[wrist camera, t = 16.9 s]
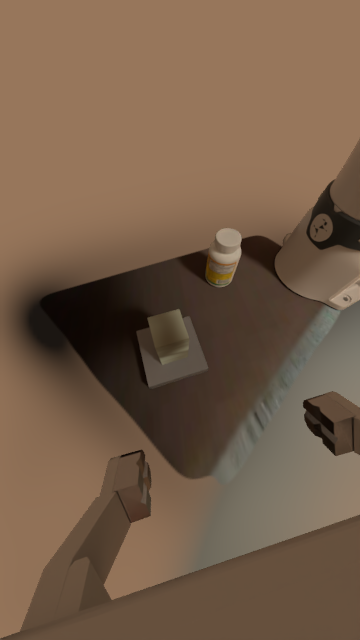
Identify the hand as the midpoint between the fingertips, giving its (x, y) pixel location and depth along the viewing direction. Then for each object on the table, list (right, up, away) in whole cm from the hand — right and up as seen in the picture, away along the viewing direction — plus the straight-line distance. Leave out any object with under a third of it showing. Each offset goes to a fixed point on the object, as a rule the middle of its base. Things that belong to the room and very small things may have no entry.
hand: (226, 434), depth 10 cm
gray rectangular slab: (-4, 0, +23) cm, 23 cm away
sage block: (-4, +1, +21) cm, 21 cm away
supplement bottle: (+5, +14, +29) cm, 33 cm away
